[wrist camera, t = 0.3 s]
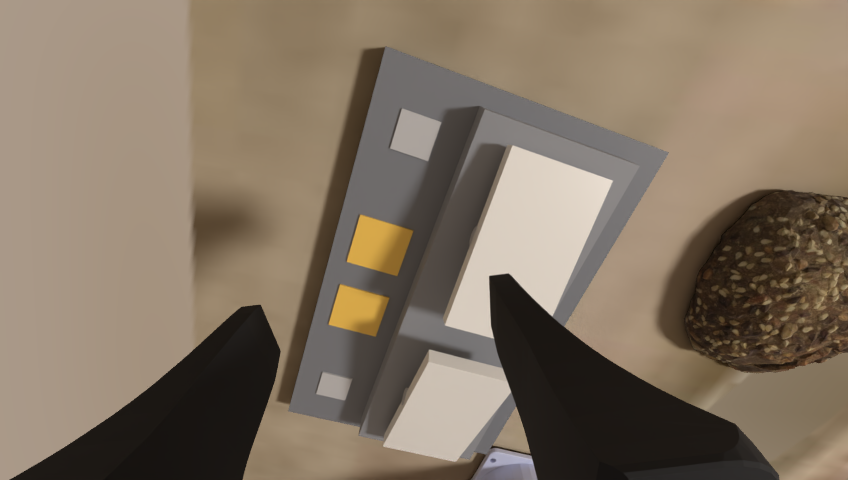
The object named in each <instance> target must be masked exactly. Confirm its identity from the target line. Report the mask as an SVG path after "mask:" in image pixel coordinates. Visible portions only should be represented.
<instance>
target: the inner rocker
mask: <svg viewBox="0 0 848 480" xmlns="http://www.w3.org/2000/svg"><path fill="white" fill-rule="evenodd" d="M510 393H511V390H510V387H509V385H508V382H507V379H506V376H505V373H504V371H503V368H500V367H496V366H492V365H488V364H484V363H480V362H476V361H472V360H468V359H465V358H461V357H457V356H453V355H449V354H445V353H441V352H437V351H433V350H429V351H428V352H427V354H426V356H425V358H424V360H423V362H422V364H421V366H420V368H419V369H418V371H417V373H416V375H415V377H414V379H413V381H412V383H411V385H410V387H409V388H405V390H404V393H403V397H402V402H401V404H400V405H399V407H398V409H397V411H396V413H395V415H394V417H393V419H392V421H391V422H390V424H389V426H388V428H387V430H386V432H385V434H384V441H383V446H384V447H388V448H393V449H398V450H402V451H407V452H412V453H416V454H421V455H426V456H431V457H435V458H440V459H445V460H449V461H454V462H456V461H457V460H458V458H459V457H460V456H461V455H462V453H463V452H464V451H465V449H466V448H467V447H468V446H469V444H470V443H471V442H472V441H473V439H474V438H475V437H476V436H477V434H478V433H479V432H480V431H481V429H482V428H483V427H484V426H485V424H486V423H487V422H488V421H489V419H490V418H491V417H492V416H493V414H494V413H495V412H496V410H497V409H498V408H499V407H500V405H501V404H502V403H503V402H504V400H505V399H506V398H507V397H508V395H509V394H510Z"/></svg>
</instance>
